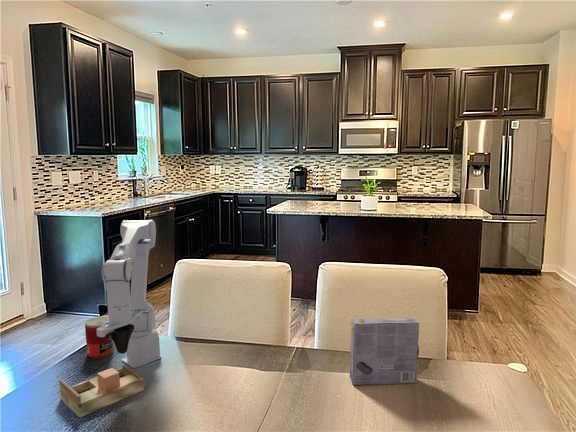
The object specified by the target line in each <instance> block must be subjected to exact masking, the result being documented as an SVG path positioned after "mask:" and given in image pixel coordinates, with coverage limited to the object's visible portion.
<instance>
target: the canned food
mask: <svg viewBox="0 0 576 432" xmlns="http://www.w3.org/2000/svg"><path fill="white" fill-rule="evenodd" d="M107 318H108V316H96V317H93V318H90V319H87V320H86V321H85V322H84V329H85V331H84V333H85V342H86V343H85V344H86V354H87V356H88V357H89V358H91V359H103V358H106V357H107V358H108V357H109V356H110V355H112V354H113V351H114V342H113V340H112V338H111V337H110V335H109V334H106V336H105V337H98V336H97V330H96V329H98V328H100V327H101V326H102V325H103V324H105V323H106V322H107Z"/></svg>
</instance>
